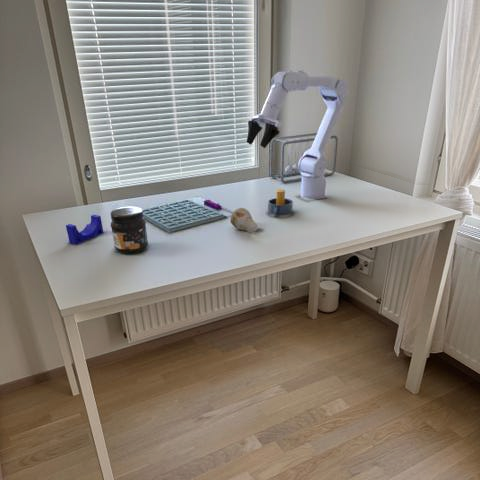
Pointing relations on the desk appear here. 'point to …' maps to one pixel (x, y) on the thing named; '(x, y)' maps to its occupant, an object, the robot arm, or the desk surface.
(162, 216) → the calendar
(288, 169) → the newton's cradle
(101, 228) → the cable clip
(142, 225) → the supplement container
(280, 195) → the peg
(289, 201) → the cup
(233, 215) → the rock
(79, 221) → the desk surface
